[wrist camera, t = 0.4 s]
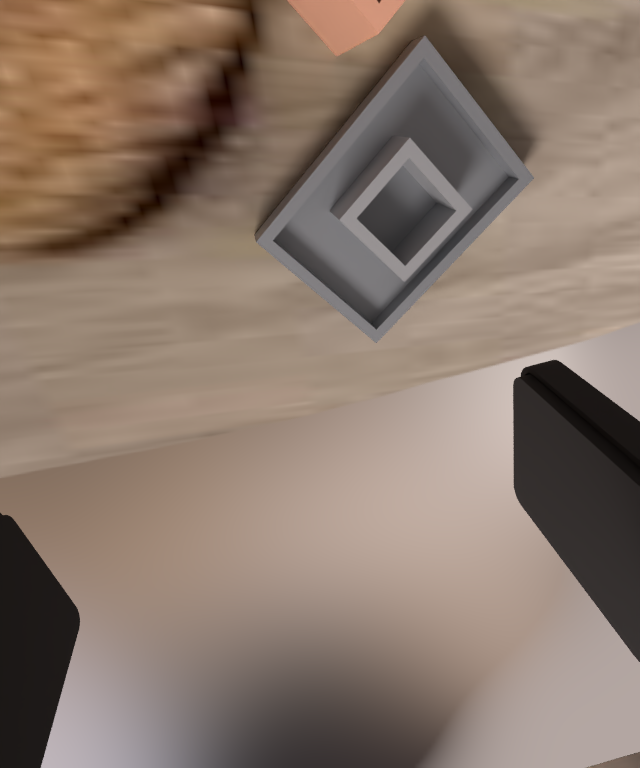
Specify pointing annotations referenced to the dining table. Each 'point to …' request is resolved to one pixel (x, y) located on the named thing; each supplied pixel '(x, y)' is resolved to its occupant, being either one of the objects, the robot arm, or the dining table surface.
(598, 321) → the dining table surface
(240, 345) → the dining table surface
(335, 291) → the tray
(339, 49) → the cup
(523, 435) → the robot arm
